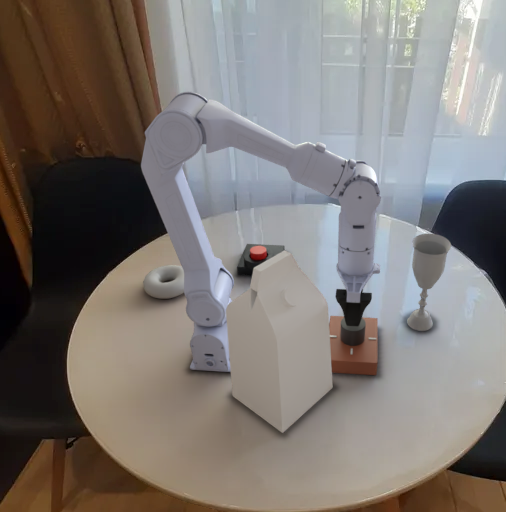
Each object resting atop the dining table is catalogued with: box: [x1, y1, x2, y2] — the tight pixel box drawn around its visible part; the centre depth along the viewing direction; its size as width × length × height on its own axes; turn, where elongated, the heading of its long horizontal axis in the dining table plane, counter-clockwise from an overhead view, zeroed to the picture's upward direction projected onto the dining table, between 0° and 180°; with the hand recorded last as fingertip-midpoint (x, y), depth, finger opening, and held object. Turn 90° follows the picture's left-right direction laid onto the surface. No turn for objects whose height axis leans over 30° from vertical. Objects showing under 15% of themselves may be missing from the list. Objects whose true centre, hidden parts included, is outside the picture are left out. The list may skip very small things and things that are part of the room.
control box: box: [236, 243, 286, 277], centre depth 110 cm, size 11×9×4 cm
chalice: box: [406, 233, 452, 332], centre depth 90 cm, size 7×7×18 cm
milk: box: [226, 249, 333, 434], centre depth 73 cm, size 12×12×26 cm
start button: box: [250, 246, 267, 260], centre depth 107 cm, size 4×4×2 cm
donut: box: [142, 264, 184, 300], centre depth 103 cm, size 10×4×10 cm
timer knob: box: [340, 318, 366, 346], centre depth 86 cm, size 4×4×4 cm
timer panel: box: [329, 315, 379, 376], centre depth 88 cm, size 12×9×3 cm
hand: (353, 310), depth 84 cm, fingers open, 7 cm apart
